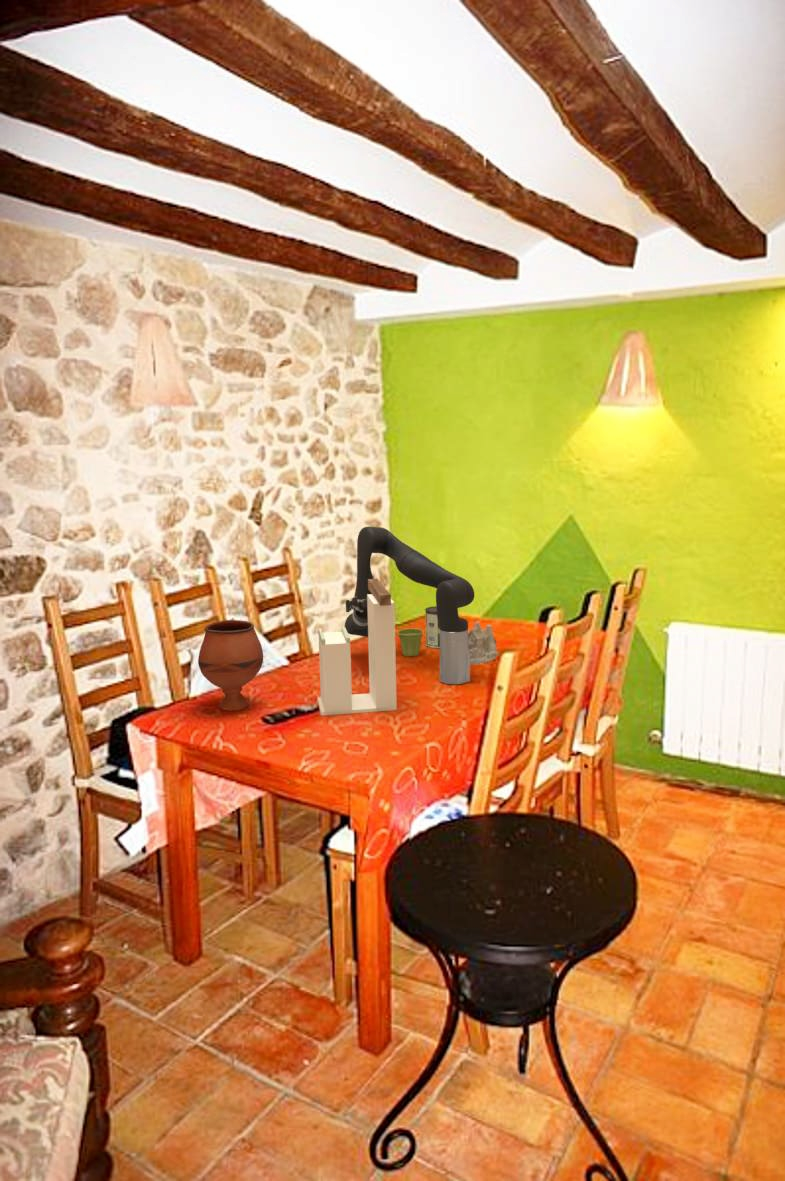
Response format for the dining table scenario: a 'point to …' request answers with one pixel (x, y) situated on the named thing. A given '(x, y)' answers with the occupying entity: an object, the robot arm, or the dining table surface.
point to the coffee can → (432, 628)
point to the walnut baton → (379, 592)
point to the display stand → (338, 666)
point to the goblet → (230, 659)
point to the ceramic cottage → (481, 645)
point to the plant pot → (410, 641)
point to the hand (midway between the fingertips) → (369, 598)
